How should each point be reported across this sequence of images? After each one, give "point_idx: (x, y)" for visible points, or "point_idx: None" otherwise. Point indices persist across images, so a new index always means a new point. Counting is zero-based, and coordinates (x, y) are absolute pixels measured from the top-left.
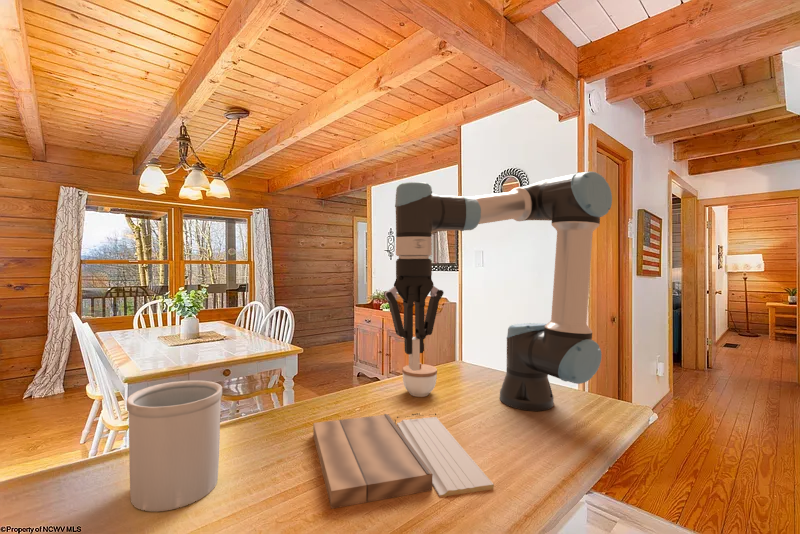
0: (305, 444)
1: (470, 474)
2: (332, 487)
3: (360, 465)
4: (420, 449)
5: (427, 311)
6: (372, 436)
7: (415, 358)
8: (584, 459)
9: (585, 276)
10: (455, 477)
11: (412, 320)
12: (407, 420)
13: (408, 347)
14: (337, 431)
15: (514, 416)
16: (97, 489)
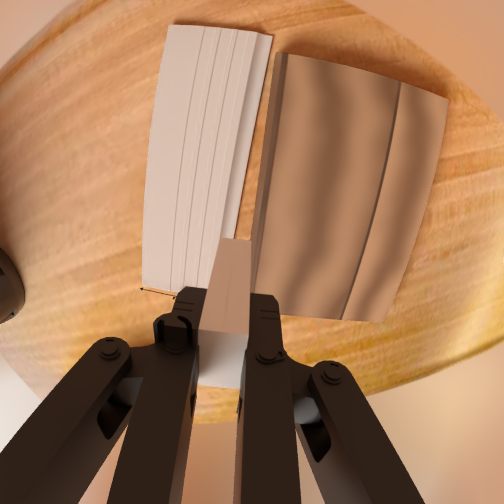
0: (399, 286)
1: (187, 60)
2: (446, 107)
3: (387, 141)
4: (230, 178)
5: (75, 498)
6: (318, 235)
7: (236, 266)
8: (6, 81)
9: None
10: (219, 62)
11: (246, 462)
12: None
13: (269, 318)
14: (366, 280)
15: (21, 239)
16: None
